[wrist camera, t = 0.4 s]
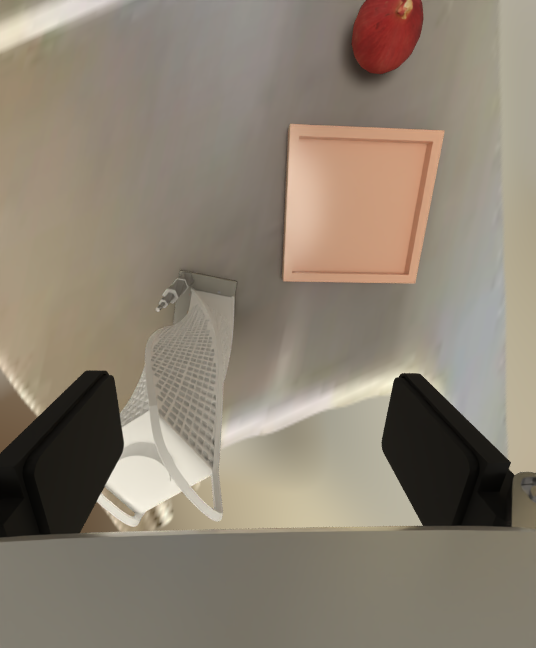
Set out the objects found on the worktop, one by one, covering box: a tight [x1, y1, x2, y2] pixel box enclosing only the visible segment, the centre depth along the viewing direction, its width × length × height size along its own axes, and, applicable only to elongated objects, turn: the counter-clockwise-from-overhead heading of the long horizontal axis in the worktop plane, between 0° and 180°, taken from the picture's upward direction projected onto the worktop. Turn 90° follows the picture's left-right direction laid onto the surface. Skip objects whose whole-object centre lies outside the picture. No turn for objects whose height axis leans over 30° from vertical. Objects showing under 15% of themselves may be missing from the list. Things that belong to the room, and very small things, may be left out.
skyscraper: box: [97, 270, 237, 527], centre depth 26 cm, size 8×8×28 cm
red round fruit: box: [352, 0, 423, 74], centre depth 27 cm, size 6×6×8 cm
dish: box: [282, 124, 444, 283], centre depth 35 cm, size 16×16×2 cm
